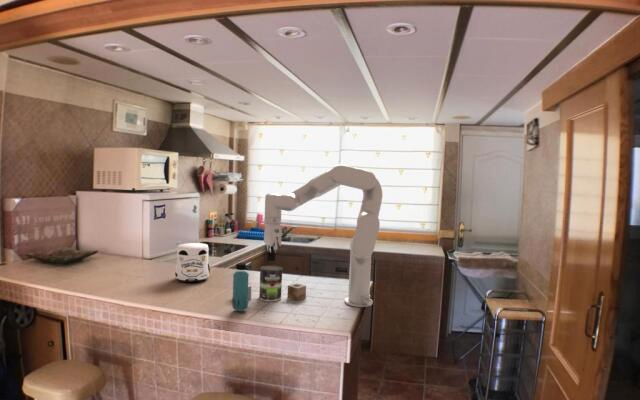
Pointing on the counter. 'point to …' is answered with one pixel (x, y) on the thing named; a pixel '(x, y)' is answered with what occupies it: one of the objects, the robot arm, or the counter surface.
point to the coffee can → (270, 283)
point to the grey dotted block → (249, 291)
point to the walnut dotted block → (296, 292)
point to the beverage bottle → (240, 288)
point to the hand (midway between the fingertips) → (271, 260)
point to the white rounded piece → (192, 262)
